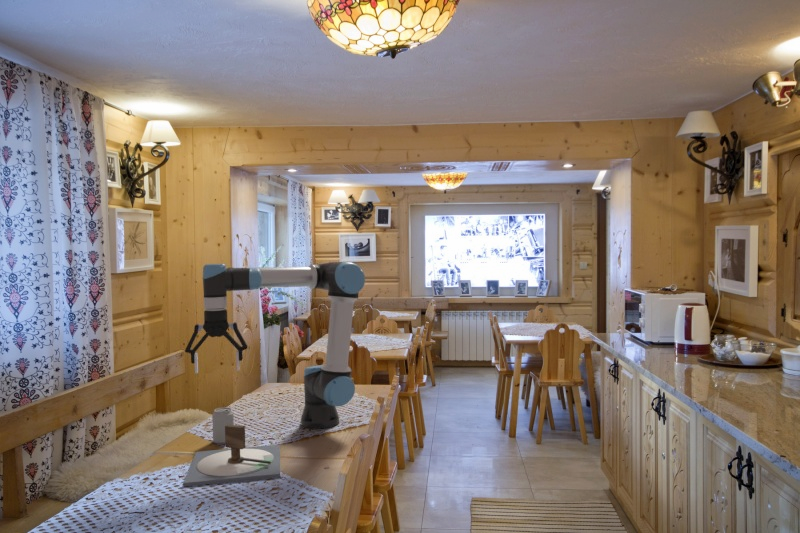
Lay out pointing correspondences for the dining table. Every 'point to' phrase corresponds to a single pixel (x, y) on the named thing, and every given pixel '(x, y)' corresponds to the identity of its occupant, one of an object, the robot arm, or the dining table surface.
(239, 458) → the dial pointer knob
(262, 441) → the dining table surface
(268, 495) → the dining table surface
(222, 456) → the dial board
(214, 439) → the can
